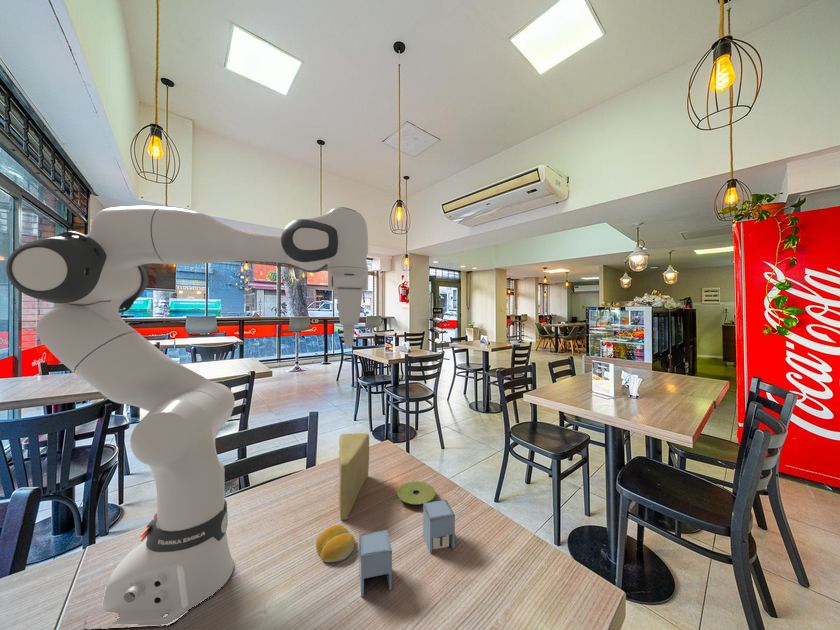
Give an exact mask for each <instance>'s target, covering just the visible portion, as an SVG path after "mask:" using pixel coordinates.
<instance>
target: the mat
mask: <svg viewBox="0 0 840 630" xmlns="http://www.w3.org/2000/svg"><path fill="white" fill-rule="evenodd" d="M396 493H397V494H396V495H397V497H398V498H399V500H401V501H402V502H404V503H406V504H409V505H410V504H411V505H421V504H422V505H423V503H428V502H431V500H433V499H434V498H435V495H436V489H435V488H434V487H433V486H432V485H431V484H429V483H426V482H424V481H410V482H409V481H408V482H407V483H403V484H402V485H400V486H399V488H398V489H397V492H396Z"/></svg>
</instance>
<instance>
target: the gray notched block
mask: <svg viewBox="0 0 840 630" xmlns="http://www.w3.org/2000/svg"><path fill="white" fill-rule="evenodd" d="M358 540H359V541H358V545H359V546H358V547H359V548H358V551H359V552H358V554H359V555H358V574H359V575H358V576H359V589H360V597H361V598H363V597H364V595H365V581H364V580H365V579H369V578H374V577H378V576H384V575H386V580H387V587H388V590H389V591H392V590H393V585H392V584H393V579H392V578H393V547H392V544H391V540H390V535H389V531H388V529H384V530H378V531H377V530H376V531H371V532H367V533H366V532H365V533H361V534H359V537H358Z"/></svg>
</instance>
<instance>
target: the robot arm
mask: <svg viewBox="0 0 840 630" xmlns="http://www.w3.org/2000/svg"><path fill="white" fill-rule="evenodd" d="M368 253H369V235H368V225H367V222H366V220H365V217H364V216H363V215H362V214H361V213H359V212H358V211H356V210H354V209H352V208H348V207H344V206H342V207H341V206H339V207H333V208H331V209H330V210H329V211H327V212H326V213H323V214H321V215H318V216H314V217H310V218H300V219H295V220H292V221H291V222H289V223H288V224H287V225H286V226H285V227H284V229H283V230H282V232H281V236H276V235H275V236H273V235H267V234H266V235H265V234H253V233H248V232H245V231H240V230H238V229H236V228H233V227H231V226H228V225H227V224H225V223H222V222H221V221H219V220H217V219H215V218H213V217H211V216H209V215H208V214H205V213H201V212H198V211H194V210H190V209H186V208H180V207H174V206H173V207H170V206H161V205H160V206H156V205H155V206H154V205H128V206H126V205H125V206H115V207H108V208H104V209H101V210H100V211H98V212H97V213H96V214H95V215H94V216H93V218H92V221H91V225H90V231H89V232H88V233H87V234H84V233H81V232H78V231H75V230H68V231H64V232H62V233H59V234H56V235H54V236H52V237H47V238H46V237H45V238H41V239H36V240H32V241H30V242H26V243H25V244H22V245H20V246H19V247H18V248H16V249H15V250H13V252H12V253H11V254H10V256H9V257H8V259H7V262H6V266H5V267H6V268H5V271H6V274H7V278H8V280H9V282H10V283H11V285H12V286H13V287H14V288H15V289H17V291H19V292H20V293H22V294H24V295H26V296H28V297H31V298H33V299H36V300H38V301H43V302H47V303H51V304H54V306H53V308H52V309H50V310H49V311H47V312H46V313H45V314H44V315H42V316H41V317H40V318H39V320H38V321H37V324H36V327H35V332H36V335H37V337H38V338H39V340H40V341H41V342H42V343H43V345H44V346H45V347H46V348H47V349H48V350H49V352H50V353H51V354H52V355H53V356H55V358H56V359H57V360H58V361H59V362H60V363H62V364H63V365H64V366H65V367H66V368H67V369H68V370H69V371H71V372H72V373H74V374H75V375H76V376H77V377H79V378H80V379H81V380H83V381H85V383H87V384H88V385H89V386H91V387H92V388H93V389H95V390H96V391H98V392H99V393H101V394H102V395H103V396H104V397H105V398H107V399H108V400H109V401H111V402H114V403H116V404H120V405H128V406H133V407H137V408H140V409H142V410H144V411H147V412H148V413H147V414H146V415H144V417H142V419H141V420H140V421H139V422H138V423H137V424H136V426H135V427H134V428H133V430H132V432H131V435H130V441H129V443H130V445H129V446H130V448H131V451H132V454H133V455H134V457H135V458H136V459H137V460H139V462H141V463H142V464H145V465H146V466H149V468H150V470H151V473H152V475H153V479H154V482H155V489H156V513H155V514H154V516H153V519H152V520H151V521H150V522H149V523H148V524H147V525H146V528H145V530H144V531H143V532H142V534H141V535H140V537H141V538H140V543H139V544H138V545H136V546H135V547H134V548H133V549H132V550H130V551H129V552H128V553H127V554H126V556H124V558H122V560H121V561H120V562H119V563H118V564H117V566H116V567H115V568H114V570H113V571H112V573H111V574H110V576H109V578H108V581H107V582H106V586H105V588H104V589H105V593H104V598H103V604H102V610H103V611H107V612H115V613H118V615H119V616H118V617H120V618H119V619H117V621H115V622H111V623H112V624H138V625H161V624H168V623H170V622H172V621H173V620H175V619H177V618H179V617H180V616H181V615H183V614H184V613H185V612H186V611H188V610H189V609H190V608H192V607H193V606H195V605H197V604H199V603H200V602H201V601H204V600H205V599H206V598H208V597H209V596H211V595H212V594H213V593H215V592H216V591H217V590H218V589H219V590H220V589H222V588H221V587H224V585H225V584H227V582H228V580H229V579H230V577H231V576H232V574H233V572H234V568H235V563H234V560H233V558H232V555H231V552H230V548H229V542H228V537H227V529H228V524H229V523H228V522H229V513H228V502H227V500H226V499H225V495H226V492H225V491H226V490H225V489H226V487H225V486H226V485H225V479H226V478H225V475H226V474H225V466H224V464H223V463H222V462H221V461H220V459H219V456H218V453H217V449H216V438H217V434H218V432H219V430H221V428H222V427H223V426H225V425H226V423H227V422H228V421H229V420H230V418H231V416H232V413H233V411H234V407H235V401H236V400H235V396H234V393H233V391H232V390H231V389H230V388H229V387H228V386H226V385H224V384H222V383H219V382H215V381H212V380H210V379H208V378H207V377H205V376H202V375H201V374H200V373H197V372H196V371H193V370H192V369H189V368H187V366H184V365H182V364H180V363H179V362H177V361H176V360H174V359H172V358H171V357H170V356H168V355H167V354H165V352H163V351H162V350H161V349H159V348H158V347H157V346H156V345H154V344H153V343H152V342H151V341H149V340H148V339H147V338H146V337H144V336H143V335H142V334H141V333H140V332H138V331H137V330H136V329H134V328H133V327H132V326H131V325H129V324H128V323H127V322H126V321H125V320H124V319H123V318H122V317H121V315H120V313H125V312H127V311H129V310H130V309H131V308H132V306H133V305H134V303H135V302H136V300H138V299H140V297H141V296H142V295H143V293H144V292H145V291H146V289H147V287H148V283H149V277H148V273H147V271H146V270H145V267H143V265H149V264H159V265H174V266H175V265H203V264H204V265H205V264H215V263H227V262H229V263H230V262H231V263H232V262H255V263H256V262H257V263H268V264H269V263H270V264H272V263H273V264H283V265H285V264H286V265H290V266H293V267H295V268H296V269H299V270H301V271H303V272H306V273H310V274H311V273H313V274H314V273H319V272H322V271H324V270H325V269H327V290H329V291H333V297H334V298H336V303H337V308H338V309H337V310H338V311H337V312H338V319H339V323H340V325H341V326H342V330H343V342H344V343H343V344H344V346H345V347H353V346H354V333H355V326H359V325H358V324H359V323H360V317H361V309H362V300H363V292H364V291H366V292H367V291H368V290H369V267H368V263H367V256H368ZM145 538H146V539H145ZM219 590H218V591H219ZM218 591H217V592H218ZM217 592H216V593H217ZM216 593H215V594H216ZM212 596H213V595H212ZM212 596H211V597H212ZM208 599H209V598H208ZM205 601H206V600H205ZM205 601H204V602H205ZM200 604H201V603H200ZM200 604H199V605H200ZM197 606H198V605H197ZM195 607H196V606H195ZM192 609H193V608H192ZM188 612H189V611H188ZM165 614H168V616H166V617H164V618H163V616H164V615H165ZM115 618H117V617H115Z"/></svg>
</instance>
